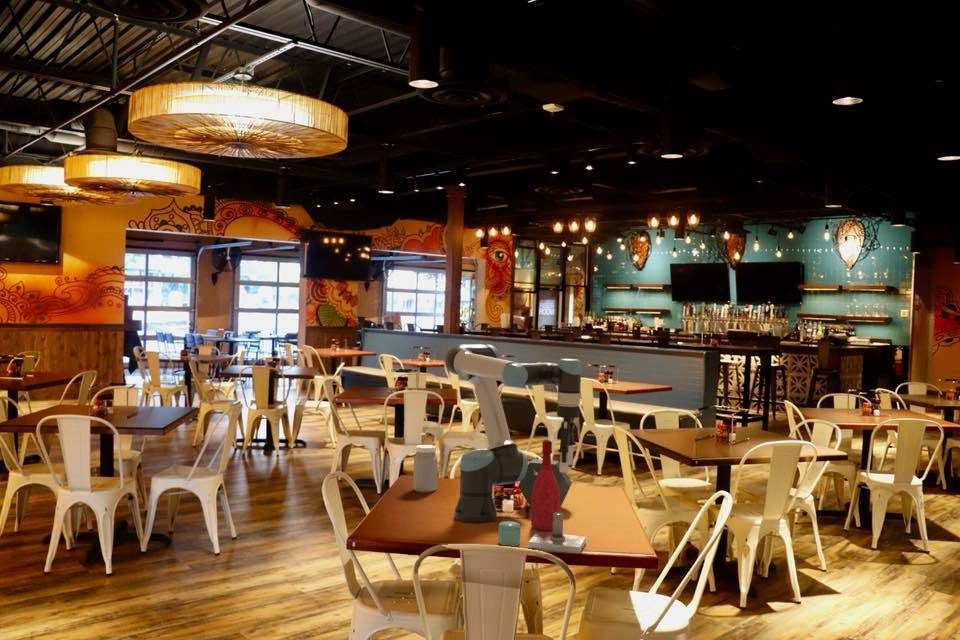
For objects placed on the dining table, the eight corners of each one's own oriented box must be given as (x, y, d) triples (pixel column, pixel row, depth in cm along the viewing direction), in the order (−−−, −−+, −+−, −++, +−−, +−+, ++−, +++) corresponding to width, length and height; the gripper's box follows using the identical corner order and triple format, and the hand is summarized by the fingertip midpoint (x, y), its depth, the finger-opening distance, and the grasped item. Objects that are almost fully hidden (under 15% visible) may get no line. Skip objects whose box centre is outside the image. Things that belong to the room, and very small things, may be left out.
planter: (579, 495, 298) (551, 448, 301) (577, 500, 291) (548, 451, 293) (542, 517, 302) (514, 469, 304) (539, 522, 294) (510, 473, 297)
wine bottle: (551, 533, 262) (553, 443, 262) (525, 528, 267) (527, 440, 267) (564, 527, 271) (566, 440, 270) (538, 522, 276) (541, 437, 276)
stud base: (528, 548, 245) (529, 516, 245) (536, 537, 257) (537, 507, 257) (579, 553, 241) (580, 521, 240) (585, 543, 252) (586, 512, 252)
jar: (410, 492, 318) (411, 447, 318) (416, 486, 328) (417, 443, 327) (433, 493, 316) (435, 448, 316) (439, 488, 326) (440, 445, 326)
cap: (496, 544, 248) (496, 525, 248) (501, 539, 254) (502, 520, 254) (516, 547, 246) (517, 527, 246) (521, 541, 252) (522, 522, 252)
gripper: (575, 410, 251) (573, 476, 251) (583, 401, 275) (581, 462, 276) (552, 408, 253) (549, 474, 253) (562, 400, 277) (559, 460, 277)
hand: (566, 468), depth 264 cm, fingers open, 13 cm apart
